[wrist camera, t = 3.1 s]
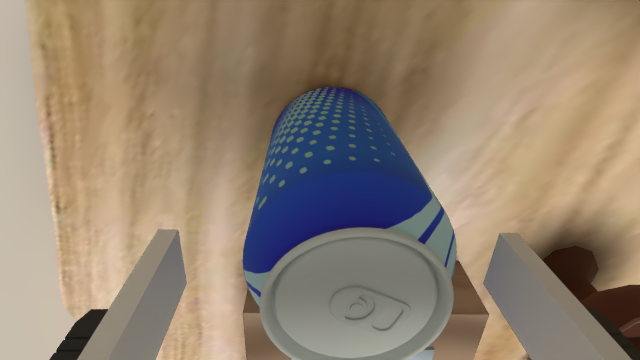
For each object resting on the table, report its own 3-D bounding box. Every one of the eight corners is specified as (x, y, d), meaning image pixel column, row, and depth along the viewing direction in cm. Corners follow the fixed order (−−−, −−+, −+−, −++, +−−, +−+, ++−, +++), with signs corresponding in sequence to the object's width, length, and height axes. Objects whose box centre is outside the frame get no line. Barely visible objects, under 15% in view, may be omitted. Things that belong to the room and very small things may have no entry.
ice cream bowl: (609, 198, 29) (859, 369, 16) (637, 283, 34) (850, 471, 21) (487, 257, 32) (615, 447, 19) (527, 329, 36) (655, 524, 23)
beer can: (302, 205, 29) (297, 411, 15) (251, 112, 25) (180, 265, 11) (402, 166, 28) (503, 350, 13) (364, 61, 24) (446, 161, 10)
